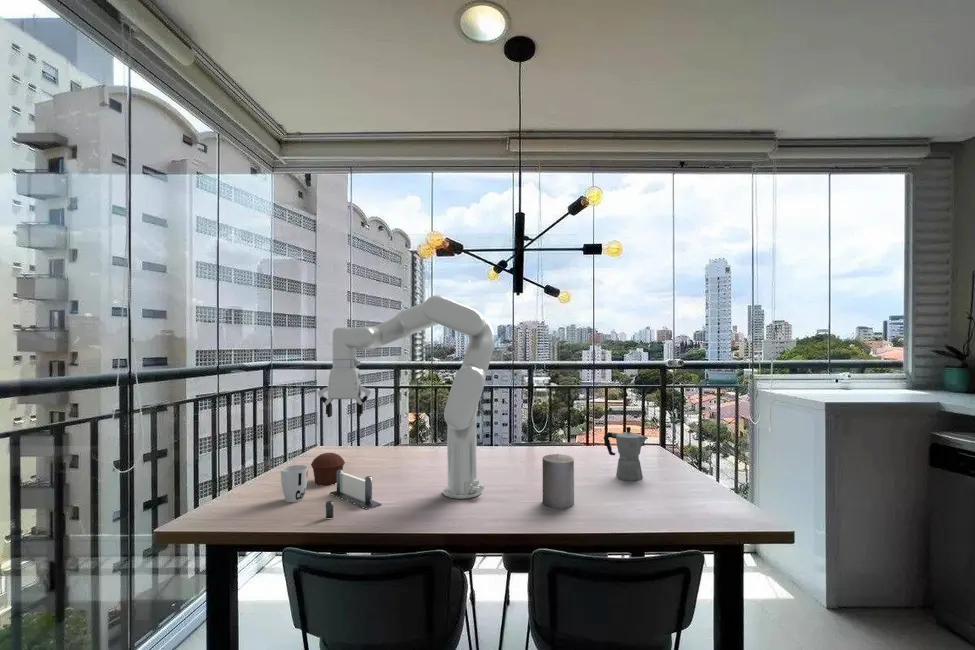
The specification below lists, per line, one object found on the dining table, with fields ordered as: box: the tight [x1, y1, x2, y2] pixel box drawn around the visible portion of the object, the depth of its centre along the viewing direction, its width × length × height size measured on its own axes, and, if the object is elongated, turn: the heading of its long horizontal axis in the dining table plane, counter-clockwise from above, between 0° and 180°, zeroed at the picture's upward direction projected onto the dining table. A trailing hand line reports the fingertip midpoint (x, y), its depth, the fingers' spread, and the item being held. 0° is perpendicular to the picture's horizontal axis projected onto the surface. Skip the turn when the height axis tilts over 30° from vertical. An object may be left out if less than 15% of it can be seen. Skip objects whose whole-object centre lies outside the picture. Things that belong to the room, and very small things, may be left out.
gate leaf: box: [340, 471, 365, 501], centre depth 155 cm, size 14×1×6 cm, turn 47°
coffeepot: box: [603, 426, 649, 482], centre depth 177 cm, size 15×9×18 cm, turn 67°
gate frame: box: [325, 469, 382, 519], centre depth 150 cm, size 22×17×8 cm
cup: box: [280, 464, 309, 503], centre depth 155 cm, size 8×8×10 cm
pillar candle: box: [542, 453, 575, 509], centre depth 150 cm, size 10×10×15 cm
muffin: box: [310, 452, 346, 486], centre depth 174 cm, size 12×11×10 cm
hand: (344, 416), depth 162 cm, fingers open, 9 cm apart
